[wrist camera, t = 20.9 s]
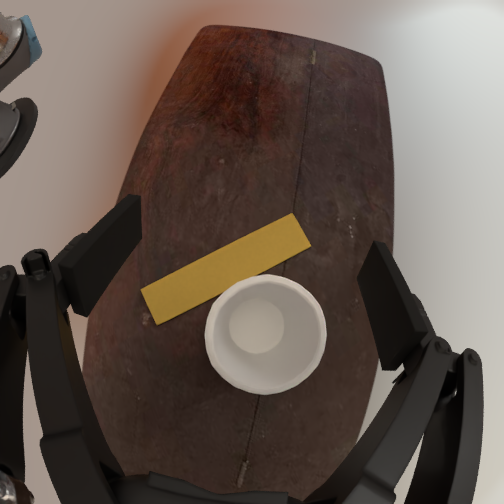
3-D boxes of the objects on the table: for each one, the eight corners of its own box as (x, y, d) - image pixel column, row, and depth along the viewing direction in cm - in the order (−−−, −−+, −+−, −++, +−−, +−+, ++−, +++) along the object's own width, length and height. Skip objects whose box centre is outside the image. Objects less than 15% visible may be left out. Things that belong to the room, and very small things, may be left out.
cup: (240, 376, 32) (242, 414, 20) (201, 309, 33) (181, 311, 21) (308, 338, 33) (346, 354, 21) (271, 271, 35) (291, 252, 22)
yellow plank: (158, 325, 33) (156, 325, 32) (141, 289, 33) (140, 289, 33) (310, 247, 36) (311, 246, 35) (291, 214, 36) (292, 212, 36)
